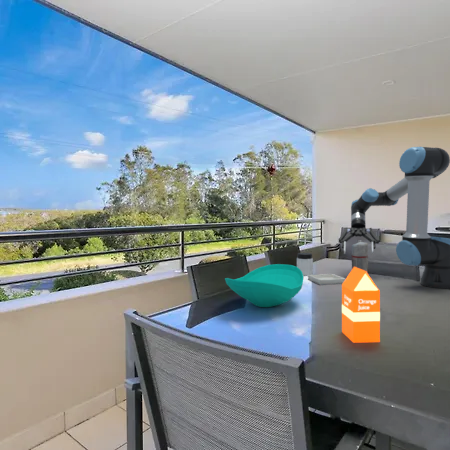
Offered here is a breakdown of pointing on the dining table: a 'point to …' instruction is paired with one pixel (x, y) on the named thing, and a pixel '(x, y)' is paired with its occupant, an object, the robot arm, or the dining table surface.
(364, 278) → the orange juice
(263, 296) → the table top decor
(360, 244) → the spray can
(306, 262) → the jar
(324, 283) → the tray
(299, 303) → the dining table surface
